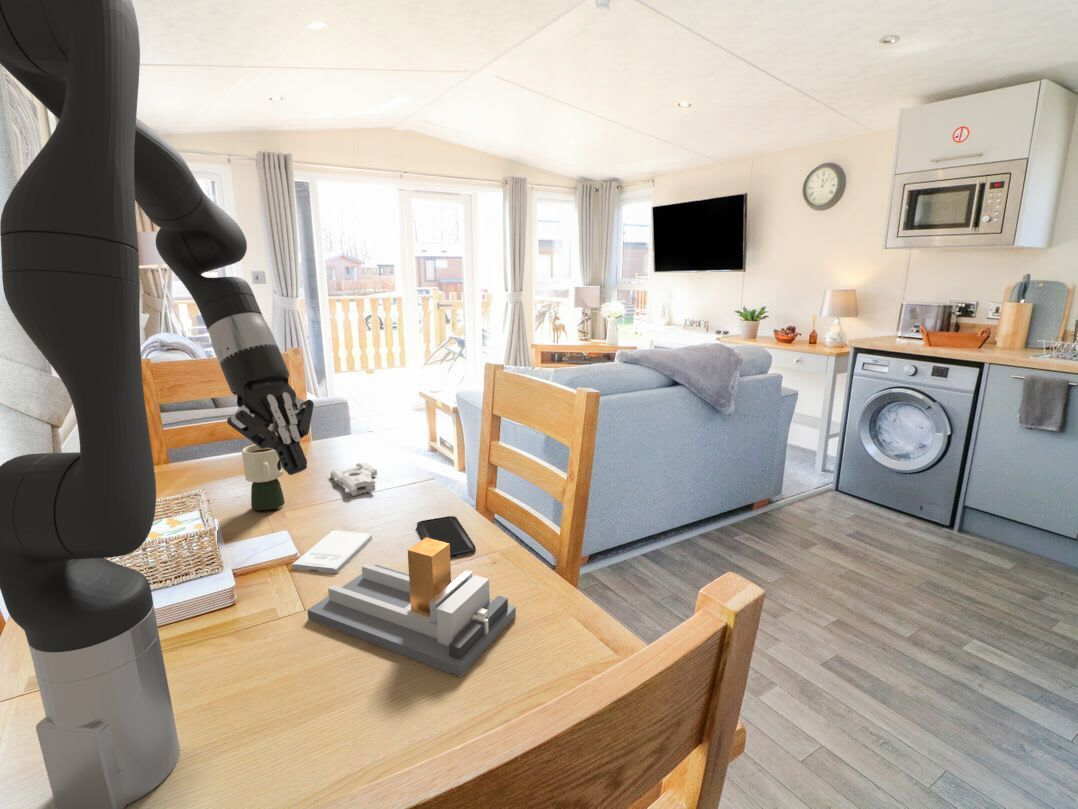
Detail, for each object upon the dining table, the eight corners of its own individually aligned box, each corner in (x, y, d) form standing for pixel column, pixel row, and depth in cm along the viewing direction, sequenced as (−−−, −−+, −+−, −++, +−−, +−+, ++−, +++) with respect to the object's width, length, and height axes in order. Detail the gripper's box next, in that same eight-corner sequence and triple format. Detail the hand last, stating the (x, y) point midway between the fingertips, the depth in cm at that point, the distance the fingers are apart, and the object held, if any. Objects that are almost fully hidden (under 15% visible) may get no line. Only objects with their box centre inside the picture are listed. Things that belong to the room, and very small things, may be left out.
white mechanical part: (391, 476, 126) (345, 486, 121) (392, 491, 127) (347, 501, 121) (366, 457, 141) (324, 465, 136) (367, 471, 142) (326, 479, 136)
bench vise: (308, 619, 81) (303, 578, 79) (376, 572, 93) (373, 536, 92) (460, 677, 70) (459, 630, 68) (515, 615, 82) (515, 575, 80)
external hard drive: (372, 541, 105) (336, 576, 93) (332, 537, 106) (291, 571, 94) (372, 533, 104) (335, 567, 93) (331, 529, 106) (290, 563, 94)
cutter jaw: (395, 623, 77) (390, 555, 75) (432, 592, 84) (429, 529, 82) (437, 638, 74) (434, 568, 72) (472, 604, 81) (470, 539, 79)
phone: (454, 515, 113) (477, 549, 99) (455, 520, 113) (477, 555, 100) (415, 521, 110) (432, 557, 96) (415, 527, 110) (432, 563, 97)
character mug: (291, 513, 115) (284, 452, 112) (252, 521, 112) (244, 458, 108) (283, 494, 124) (276, 438, 121) (246, 501, 121) (239, 443, 117)
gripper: (222, 343, 69) (277, 474, 69) (304, 340, 81) (351, 451, 81) (186, 369, 72) (238, 494, 72) (270, 362, 84) (316, 469, 84)
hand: (298, 471), depth 76 cm, fingers closed
